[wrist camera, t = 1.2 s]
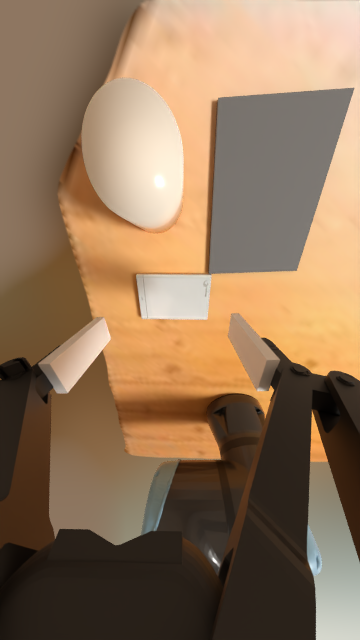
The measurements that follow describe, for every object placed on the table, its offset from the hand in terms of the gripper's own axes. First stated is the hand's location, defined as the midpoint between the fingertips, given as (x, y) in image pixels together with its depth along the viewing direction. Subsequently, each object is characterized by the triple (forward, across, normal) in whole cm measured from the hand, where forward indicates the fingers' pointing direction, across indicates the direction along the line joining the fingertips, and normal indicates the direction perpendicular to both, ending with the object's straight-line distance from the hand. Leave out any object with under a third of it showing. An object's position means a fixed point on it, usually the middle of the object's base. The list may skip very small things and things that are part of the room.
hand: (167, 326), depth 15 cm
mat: (+12, -13, -12) cm, 22 cm away
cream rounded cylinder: (+12, +2, -14) cm, 18 cm away
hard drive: (+12, 0, 0) cm, 12 cm away
